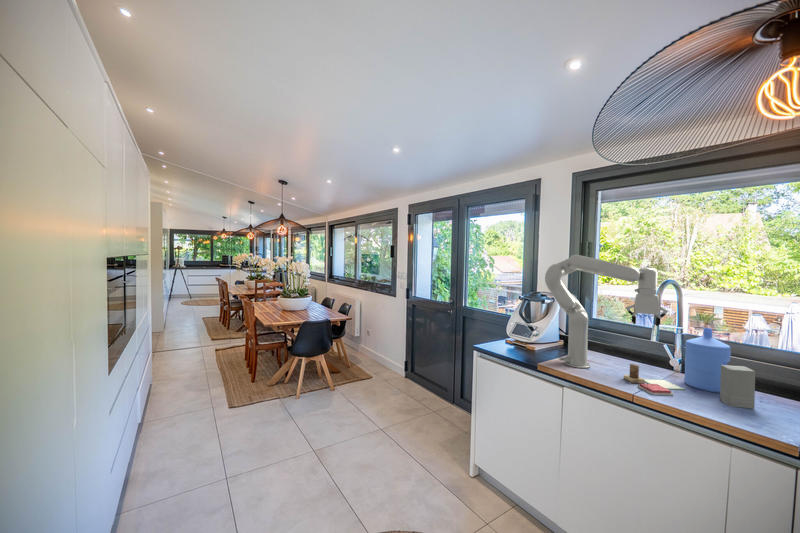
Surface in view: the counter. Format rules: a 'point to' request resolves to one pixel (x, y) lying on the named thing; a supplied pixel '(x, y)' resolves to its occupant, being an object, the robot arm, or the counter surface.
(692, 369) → the water jug
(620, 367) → the counter surface
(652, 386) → the ink pad
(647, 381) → the marked square
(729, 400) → the skincare box
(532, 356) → the counter surface
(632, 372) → the wooden stamp
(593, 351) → the counter surface
